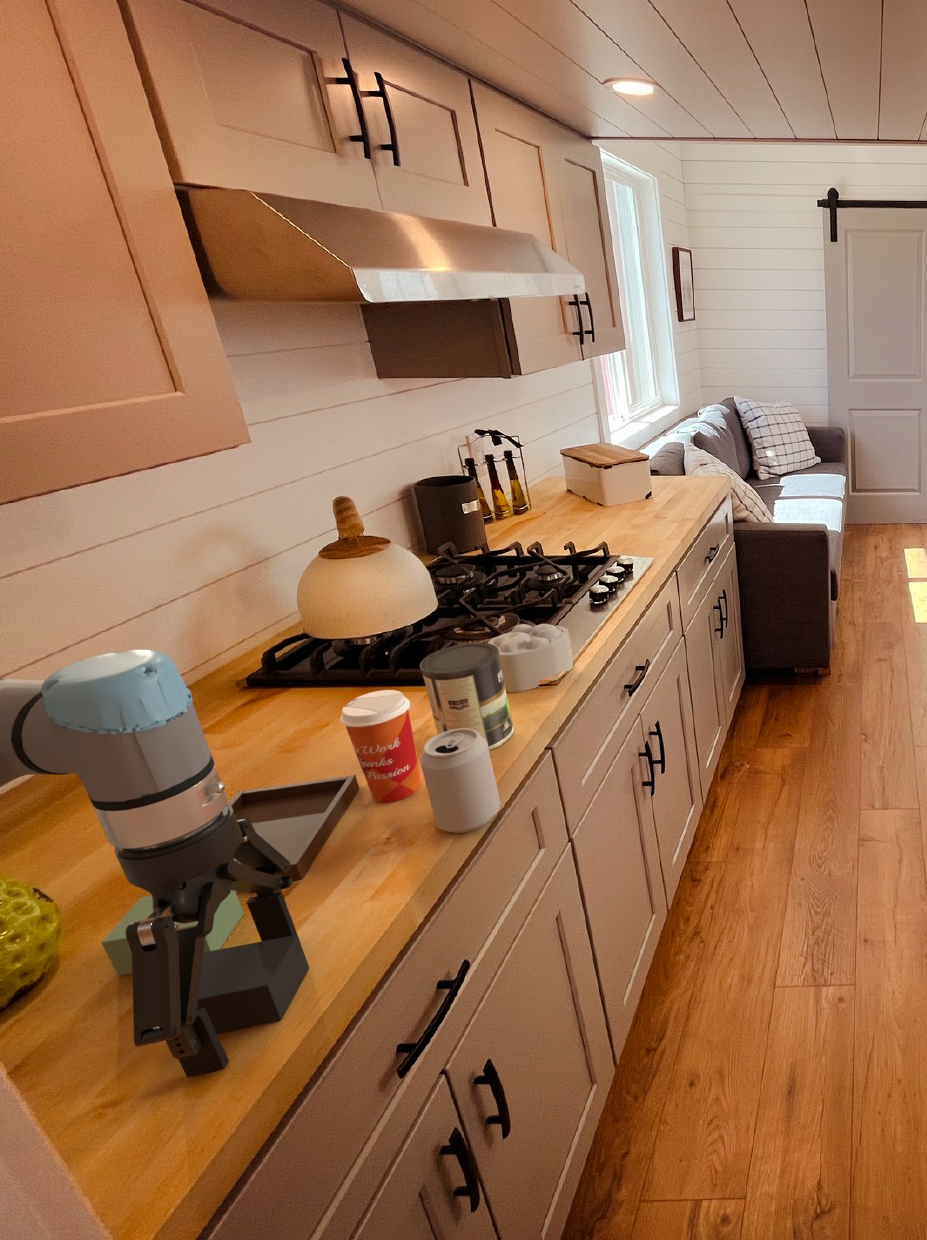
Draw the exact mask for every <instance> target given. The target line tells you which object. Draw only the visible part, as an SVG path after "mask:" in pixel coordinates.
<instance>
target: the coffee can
mask: <svg viewBox="0 0 927 1240" xmlns="http://www.w3.org/2000/svg"><path fill="white" fill-rule="evenodd" d="M419 669H420V672H421V673H422V677H423V681H424V685H425V689H426V692H427V697H428V702H429V705H430V708H431V709H430V710H431V713H432V717H433V721H434V725H435V728H436V733H437V735H438V734H441V733H443V732H446V731H449V730H453V729H460V728H469V729H474V730H476V731H478V732H479V734H480V736H481V737H482V738H484V739H486V741H487V744H488V748H489V751H491V750H494V749H496V748H498V747H500V746H501V745H503V744H505V743H506V742H507V741H508V740H509V739H511V737H512V736H513V734H514V732H515V726H514V723H513V719H512V714H511V709H510V706H509V699H508V695H507V692H506V689H505V684H504V679H503V675H502V669H501V665H500V660H499V650H498V648H497V647H496V646H494V645H492V644H488V642H465V643H461V644H455V645H451V646H447V647H445V648H441V649H439V650H437V651H434V652H433V653H430V654H428V655H427V656H426V657H424V658H423V659H422V661H420V664H419Z"/></svg>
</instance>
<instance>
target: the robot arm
mask: <svg viewBox="0 0 927 1240" xmlns="http://www.w3.org/2000/svg"><path fill="white" fill-rule="evenodd" d="M207 741H208V740H207V739H206V736H205V733H204V729H203V727H202V724H201V721H200V720H199V717H198V714H197V711H196V709H195V705H194V703H193V696H192V692H191V689H190V688H188V687H187V685H186V683H185V682H184V680H183V677H182V675H181V674H180V672H179V669H178V667H177V666H176V663H175V662H174V660H173V659H172V658H171V657H170V656H169V655H167V654H165V653H163V652H161V651H158V650H152V649H131V650H130V649H129V650H126V651H123V652H108V653H103V654H99V655H96V656H92V657H88V658H85V659H82V660H79V661H76V662H74V663H70V664H68V665H66V666H64V667H61V668H60V669H58V670H56V671H54V672H53V673H52V674H50V675H49V676H48V677H47V678H45V679H41V680H40V679H16V678H2V677H1V678H0V788H2V787H3V786H5V785H7V784H9V783H11V782H12V781H14V780H17V779H18V778H21V777H24V776H29V775H53V776H55V775H56V776H57V775H59V776H60V775H72V774H75V775H77V776H78V777H79V780H80V781H81V783H82V785H83V787H84V789H85V791H86V793H87V796H88V798H89V801H90V802H91V804H92V807H93V810H94V812H95V814H96V817H97V819H98V821H99V824H100V826H101V828H102V830H103V833H104V835H105V838H106V839H107V842H108V843H109V845H111V846H113V847H114V853H115V857H116V858H117V861H118V863H119V866H120V867H121V870H122V872H123V874H124V876H125V878H126V881H127V882H128V883H129V884H130V885H132V886H134V887H136V888H138V889H142V890H144V891H146V892H147V893H149V894H151V895H150V896H152V900H153V913H152V914H151V915H149V916H148V917H147V918H146V919H145V920H144V921H138V922H133V923H130V924H129V925H128V926H127V929H126V937H127V940H128V943H129V946H130V949H131V952H132V974H131V975H132V976H131V977H132V1012H133V1013H132V1014H133V1015H132V1016H133V1019H132V1020H133V1044H134V1046H135V1047H137V1048H138V1047H143V1046H144V1047H145V1046H148V1045H152V1044H158V1043H162V1042H165V1044H166V1045H167V1048H168V1049H169V1052H170V1054H171V1056H172V1057H173V1058H174V1059H177V1060H178V1062H179V1064H180V1066H181V1068H182V1070H183V1072H184V1074H185V1076H186V1078H191V1077H196V1076H201V1075H205V1074H208V1073H213V1072H218V1071H222V1070H225V1069H226V1067H227V1065H228V1063H229V1062H230V1061H229V1060H230V1059H229V1058H228V1056H227V1053H226V1051H225V1049H224V1046H223V1044H222V1043H221V1040H220V1038H219V1035H218V1034H217V1033H216V1031H215V1029H214V1027H213V1024H212V1022H211V1020H210V1018H209V1016H208V1013H207V1011H206V1009H205V1008H204V1009H199V1010H197V1004H198V995H199V987H200V978H201V969H202V960H203V952H204V943H205V937H206V935H207V934H209V933H210V932H211V931H212V929H213V923H214V914H215V913H216V911H217V910H218V907H219V905H220V903H221V902H222V901H223V900H224V899H226V898H227V896H228V895H229V894H230V892H231V890H233V891H235V892H237V893H243V894H248V895H256V896H251V897H249V898H248V900H247V902H246V906H247V908H248V910H249V913H250V915H251V918H252V920H253V924H254V926H255V928H256V931H257V933H258V935H259V938H260V942H261V941H267V940H272V939H277V938H283V937H288V936H293V935H298V932H297V929H296V926H295V923H294V921H293V919H292V916H291V913H290V911H289V907H288V904H287V902H286V899H285V896H284V894H283V891H282V890H284V889H290V888H291V887H292V885H293V881H292V877H291V876H285V877H281V876H282V873H284V872H288V870H289V868H290V862H289V860H287V859H286V858H285V857H284V856H283V855H281V854H280V853H279V852H278V851H277V850H276V849H274V848H273V847H272V846H271V845H270V844H269V843H267V842H266V841H265V840H264V839H263V838H262V837H260V836H259V835H258V834H257V833H256V832H255V830H254V828H253V826H252V824H251V822H250V820H249V819H241V820H237V819H236V816H235V814H234V811H233V809H232V807H231V805H229V804H228V802H229V799H228V795H227V792H226V790H225V789H226V786H225V783H224V782H223V781H222V780H221V777H220V775H219V773H218V770H217V768H216V766H215V760H214V757H213V755H212V752H211V749H210V747H209V744H208V742H207ZM234 858H235V859H236V860H237V861H239V862H240V863H241V864H239V862H237V861H234ZM197 921H198V924H197V926H196V927H193V928H189V929H183V930H178V929H179V925H178V924H174V922H178V923H182V924H186V923H191V922H197ZM298 938H299V939H300V937H299V935H298Z"/></svg>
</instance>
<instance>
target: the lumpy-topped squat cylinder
mask: <svg viewBox="0 0 927 1240" xmlns="http://www.w3.org/2000/svg"><path fill="white" fill-rule="evenodd" d="M487 643H488V644H492V645H494V646H496V647H497V648H498V650H499V660H500V665H501V669H502V675H503V679H504V684H505V689H506V693H522V692H525V691H529V690H533V689H536V687H537V688H540V687H539V686H538V685H540V684H539V682H540V680H541V679H543V678H545V677H548V676H550V675H553V674H556V673H558V672H561V671H570V670H571V668H572V666H573V660H574V655H573V649H572V643H571V636H570V631H569V629H568V628H567V627H565V626H562V625H552V624H549V623H540V624H538V625H534V626H532V625H529V624H527V623H526V624H525V623H520V624H517V625H516V626H514V627H513V628H512V629H511V631H510V632H507V633H503V634H500V635H498V636H495V637H493V638H492V639H490V640H489V641H488V642H487ZM571 671H572V670H571ZM571 671H570V672H571Z"/></svg>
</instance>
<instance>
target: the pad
mask: <svg viewBox="0 0 927 1240" xmlns="http://www.w3.org/2000/svg"><path fill="white" fill-rule="evenodd" d="M152 913H153V900H152V895H148V896H141V897H139V899H138V900H137V902H136V903H134V905H133V906H132V907H131V908H130V909H129V911H128V912H127V913H126V914H125V915H124V916H123V917H122V919H121V920H120V921H119V922H118V923H117V924H116V926H115V927H114V928H113V929H112V930H111V931H110V932H109V933H108V934H107V935H106V937H105V938H104V939H103V940H102V941H101V945H102V946H103V949H104V951H105V954H106V955H107V956H108V959H109V961H110V963H111V965H112V967H113V969H114V972H115V973H116V975H117V977H121V976H125V975H126V976H127V975H130V974H131V975H132V952H131V949H130V946H129V943H128V940H127V937H126V929H127V926H128V925H129V924H130V923H133V922H138V921H144V920H145V919H146V918H147V917H148V916H149V915H151V914H152ZM244 915H245V912H244V910H243V907H242V904H241V902H240V899H239V897H238V894H237V891H233V890H231V892H230V894H229V895H228V896H227V898H226V899H224V900H223V901H222V902H221V903H220V905H219V907H218V910H217V911H216V913H215V914H214V923H213V929H212V931H211V932H210V933H209V934H207V935H206V937H205V943H204V952H208V951H213V950H219V949H222V947H223V945H224V944H225V942H226V941H227V939H228V938H229V937H230V935H231V934H232V932H233V931H234V929H235V928H236V927H237V925H238V924H239V922H240V921H241V920H242V918H243V916H244ZM174 924H178V925H179V929H178V930H183V929H189V928H193V927H196V926H197V924H198V921H197V922H191V923H186V924H182V923H178V922H174Z"/></svg>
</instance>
